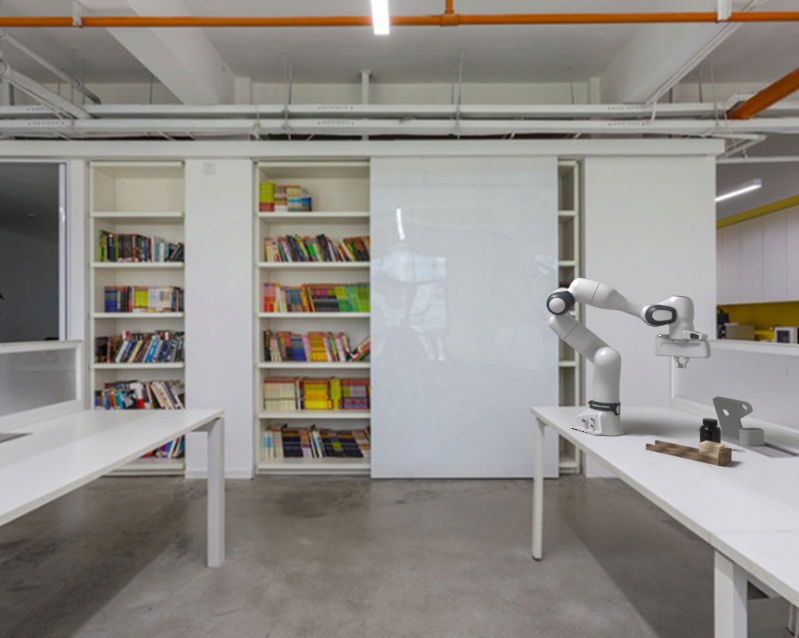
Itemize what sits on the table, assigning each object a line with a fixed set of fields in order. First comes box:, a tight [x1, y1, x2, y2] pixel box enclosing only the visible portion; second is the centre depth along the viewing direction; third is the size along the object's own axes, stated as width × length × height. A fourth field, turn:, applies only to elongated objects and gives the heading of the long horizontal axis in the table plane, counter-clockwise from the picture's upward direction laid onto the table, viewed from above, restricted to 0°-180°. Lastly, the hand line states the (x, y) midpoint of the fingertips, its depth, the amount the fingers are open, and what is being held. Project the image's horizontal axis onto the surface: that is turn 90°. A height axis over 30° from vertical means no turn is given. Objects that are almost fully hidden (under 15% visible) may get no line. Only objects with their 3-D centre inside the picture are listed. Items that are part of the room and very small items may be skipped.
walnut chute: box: [645, 439, 733, 467], centre depth 165 cm, size 25×9×6 cm, turn 37°
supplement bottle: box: [699, 417, 722, 444], centre depth 177 cm, size 7×7×12 cm
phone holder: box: [712, 395, 766, 448], centre depth 190 cm, size 17×10×18 cm, turn 12°
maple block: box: [698, 441, 726, 458], centre depth 159 cm, size 6×6×6 cm
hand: (681, 368), depth 187 cm, fingers closed
